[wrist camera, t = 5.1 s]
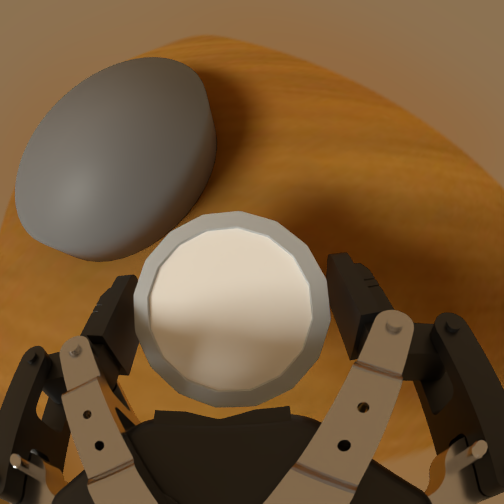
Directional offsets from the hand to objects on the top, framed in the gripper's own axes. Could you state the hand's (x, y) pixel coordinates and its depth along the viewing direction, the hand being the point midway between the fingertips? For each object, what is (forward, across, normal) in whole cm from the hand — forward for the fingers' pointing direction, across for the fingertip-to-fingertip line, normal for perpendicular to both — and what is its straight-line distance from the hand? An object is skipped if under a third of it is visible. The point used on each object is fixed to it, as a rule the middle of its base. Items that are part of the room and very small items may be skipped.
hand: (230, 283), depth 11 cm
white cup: (+3, 0, +4) cm, 5 cm away
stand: (+11, +9, -4) cm, 15 cm away
